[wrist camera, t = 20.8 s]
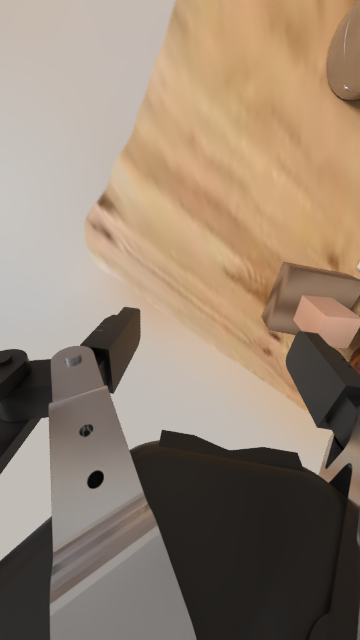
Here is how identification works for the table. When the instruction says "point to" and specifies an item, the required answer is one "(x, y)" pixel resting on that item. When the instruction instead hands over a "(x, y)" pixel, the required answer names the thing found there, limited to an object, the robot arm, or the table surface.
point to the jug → (355, 360)
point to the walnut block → (305, 293)
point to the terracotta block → (327, 320)
